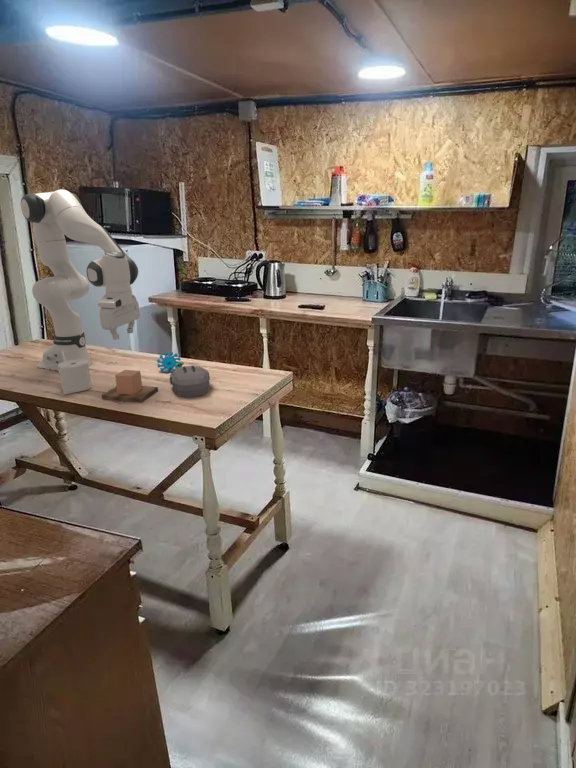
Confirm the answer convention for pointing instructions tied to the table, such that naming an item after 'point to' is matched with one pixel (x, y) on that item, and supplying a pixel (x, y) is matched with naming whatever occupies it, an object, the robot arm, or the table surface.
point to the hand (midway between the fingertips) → (123, 336)
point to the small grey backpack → (190, 381)
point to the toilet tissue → (74, 375)
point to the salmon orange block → (128, 382)
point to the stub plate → (137, 397)
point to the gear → (169, 362)
